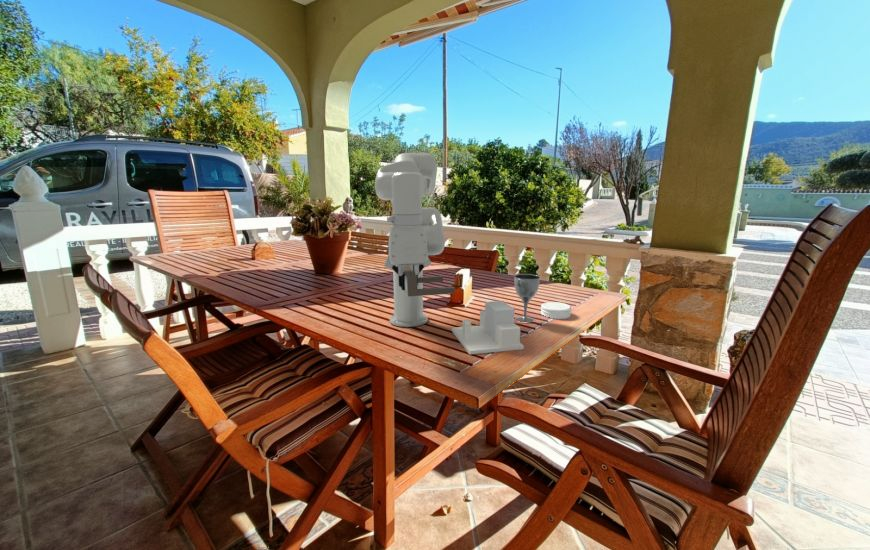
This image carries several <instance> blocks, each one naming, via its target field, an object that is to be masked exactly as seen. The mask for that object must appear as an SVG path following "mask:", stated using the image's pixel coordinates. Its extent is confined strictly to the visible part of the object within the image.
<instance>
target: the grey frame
mask: <svg viewBox="0 0 870 550" xmlns="http://www.w3.org/2000/svg"><path fill="white" fill-rule="evenodd" d="M403 273H404V277H405V292H406V294H407V296H423V297H424V296H436V295H438V296H439V295H452V294H455V293H456V287H455V286H445V287H430V288H428V287H427V288H423V289H417V276H416V275H415V274H414V272H413V271H412V270H411V268H410V267H409V266H403ZM439 282H440V283H442V282H444V276H443V275H433V276H432V275H431V276H423V277H418V283H423V284H424V283H426V284H427V283H439Z"/></svg>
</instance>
